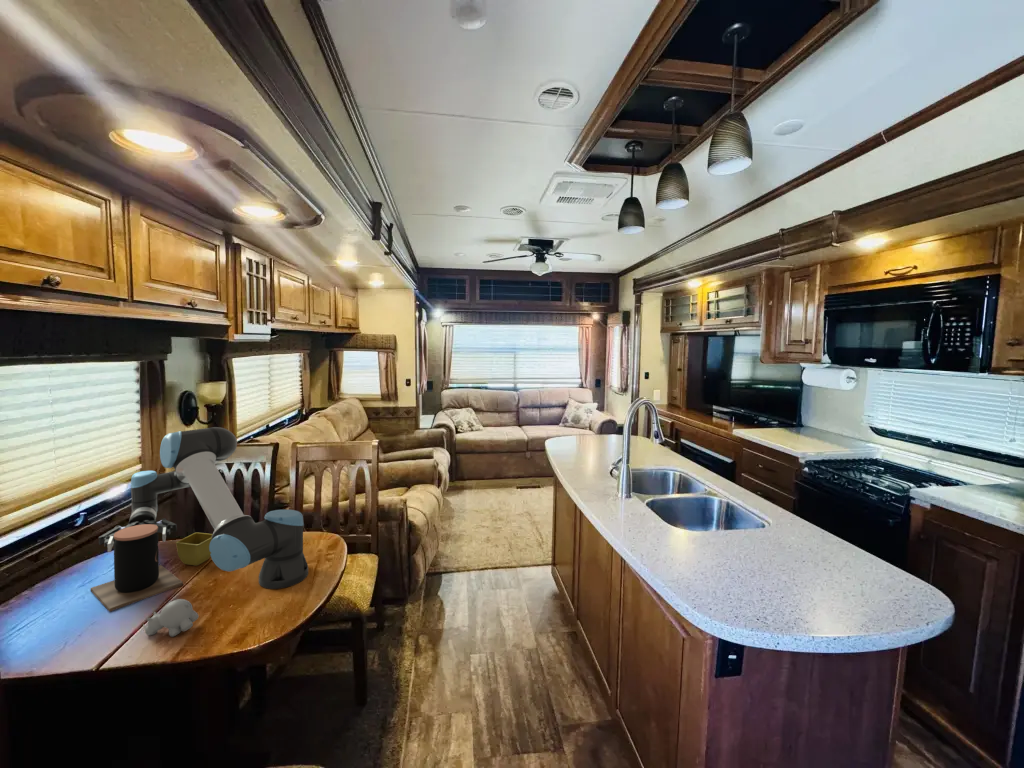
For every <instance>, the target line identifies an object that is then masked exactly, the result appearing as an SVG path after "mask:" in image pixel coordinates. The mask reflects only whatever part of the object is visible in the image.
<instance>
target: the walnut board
mask: <svg viewBox="0 0 1024 768" xmlns="http://www.w3.org/2000/svg"><path fill="white" fill-rule="evenodd" d="M183 582H184V581H182V580H181V579H180V578H178V577H177V576H175V574H173V573H172V572H171V571H170V570H168V569H167V568H165V566H163V565H162V564H159V577H158V579H157V580H156V582H155V583H154V584H153V585H151V586H150V587H148V588H145V589H143V590H140V591H136V592H131V593H121V592H119V591H118V590H116V588H115V581H114V579H113V580H110V581H108V582H104V583H101V584H98V585H96V586H92V587H90V592H91V593H92V594H93V595H94V596H95V598H97V600H98V601H99V602H100V603H101V604H102V605H103V606H104V608H105V609H106V610H107V611H108V612H109V613H110V612H113V611H116V610H119V609H120V608H125V607H126V606H129V605H132V604H135V603H138V602H140V601H142V600H146V599H148V598H151V597H154V596H156V595H159V594H161V593H164V592H167V591H170V590H173V589H175V588H178V587H181V586H183V584H184V583H183Z"/></svg>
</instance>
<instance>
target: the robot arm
mask: <svg viewBox="0 0 1024 768" xmlns="http://www.w3.org/2000/svg"><path fill="white" fill-rule="evenodd" d="M237 447H238V440H237V437H236V435H234V433H233V432H232V431H230V430H229V429H227V428H224V427H220V426H219V427H217V426H214V427H213V426H212V427H206V428H198V429H191V430H179V431H178V430H177V431H176V432H169V433H167V434H166V435H164V437H163V438H162V440H161V444H160V449H159V457H160V462H161V465H162V467H164V468H166V469H172V468H174V470H173V471H169V472H164V473H158V472H157V471H155V470H142V471H138V472H135V473H133V474H132V476H131V480H130V491H131V492H130V493H131V514H130V517H129V521H128V523H127V525H125V526H121V525H120V524H119V525H116V526H115V527H114V528H111V529H110V530H108V531H106V533H103V534H102V535H100V536H98V545H103V544H104V546H103V547H107V553H110V552H112V549H113V548H114V542H115V539H114V534H115V533H116V532H117V531H119V530H122V529H124V528H127V527H131V526H136V525H142V524H154V525H157V526H158V530H157V533H159V534H160V533H161V534H162V537H161V538H162V543H164V542H166V539H167V537H168V536H170V535H171V533H173V532H174V533H175V532H177V531H178V525H177V523H174V522H172V521H170V520H167V519H166V518H165V517H164V518H161V519H160V520H159V521H157V513H158V512H159V506H158V505H159V504H158V495H159V494H163V493H167V492H172V491H176V490H180V489H185V488H191V490H192V491H193V494H194V495H195V497H196V499H197V501H198V502H199V505H200V506H201V508H202V510H203V512H204V514H205V515H206V517H207V519H208V521H209V524H210V525H211V526H212V528H213V530H214V531H213V533H211V534H212V540H211V542H210V545H209V551H210V552H211V554H210V555H211V556H210V557H211V560H212V562H213V563H214V564H215V566H216V567H217V568H218V569H220V570H221V571H225V572H234V571H237V570H239V569H244V568H245V567H247V566H250V565H252V564H254V563H257V562H259V561H261V560H263V559H264V560H263V562H262V565H261V569H260V571H259V574H258V584H259V586H260V587H262V588H264V589H268V590H269V589H270V590H274V589H275V590H278V589H283V588H284V589H285V588H289V587H292V586H295V585H297V584H300V583H301V582H302V581H304V580H305V579H306V578H307V577H308V575H309V564H308V562H307V560H306V556H305V554H304V526H305V523H304V516H303V514H302V512H301V511H299V510H295V509H275V510H270V511H268V512H266V514H264V517H263V518H264V520H262V521H258V522H255V520H254V519H253V517H252V516H251V515H247V514H244V512H243V511H242V509H241V508H240V506H239V504H238V502H237V500H236V499H235V497H234V496H233V494H232V492H231V490H230V488H229V486H228V484H226V481H225V480H224V478H223V476H222V474H221V473H220V470H219V469H218V467H217V466H216V465H217V464H218V463H219V462H223V461H225V460H227V459H228V458H229V457H231V456H232V455H234V453H235V452H236V451H237Z"/></svg>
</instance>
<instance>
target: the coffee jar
mask: <svg viewBox="0 0 1024 768" xmlns="http://www.w3.org/2000/svg"><path fill="white" fill-rule="evenodd" d="M157 530H158V526H157V525H154V524H142V525H136V526H131V527H127V528H124V529H122V530H119V531H117V532H116V533H115V534H114V539H115V542H114V544H113V566H114V567H113V569H114V570H113V574H114V575H113V576H114V579H113V580H114V581H115V588H116V590H118V591H119V592H121V593H131V592H136V591H140V590H143V589H145V588H148V587H150V586H151V585H153V584H154V583H155V582H156V580H157V579H158V577H159V566H160V562H159V560H160V559H159V551H160V550H159V532H157Z"/></svg>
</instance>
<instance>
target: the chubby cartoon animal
mask: <svg viewBox="0 0 1024 768" xmlns="http://www.w3.org/2000/svg"><path fill="white" fill-rule="evenodd" d="M199 618H200V617H199V614H198V612H196V610H194V608H193V605H192V603H191V602H190V601H189V600H187V599H183V598H177V599H173V600H172V601H170V602H168V603H167V604H166V605H165V606H164V607H163V608H162V610H161V611H160V613H158V612H156V611H153V615H152V616H151V617H148V618H146V621H147V624H146V625H145V624H143V625H142V626H143V630H144V631H145V632H144V633H145V634H146V635H148V636H153V635H155V634H157V632H158V631H159V630H161V629H163V628H165V629H168V635H169V637H171V638H173V637H175V636H177V635H179V634H180V633H181V632H186V631H189V630H190V629H191V628H193V625H194V622H195V621H196V620H198V619H199Z"/></svg>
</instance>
